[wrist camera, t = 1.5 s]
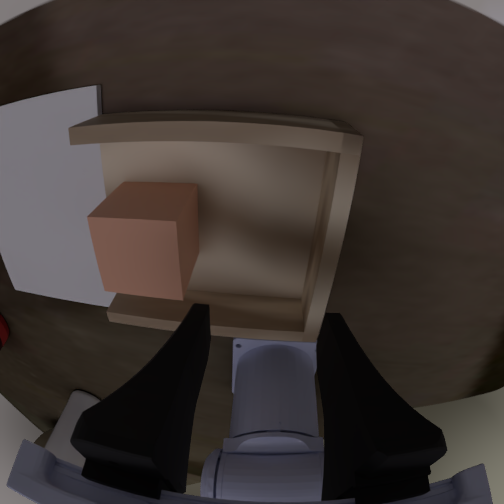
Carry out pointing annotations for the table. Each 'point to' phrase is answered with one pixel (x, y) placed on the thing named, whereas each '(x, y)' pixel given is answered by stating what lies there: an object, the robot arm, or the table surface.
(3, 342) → the canned food
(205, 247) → the open box
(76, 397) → the drinking glass
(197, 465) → the table surface
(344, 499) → the robot arm
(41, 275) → the mat
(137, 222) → the block
